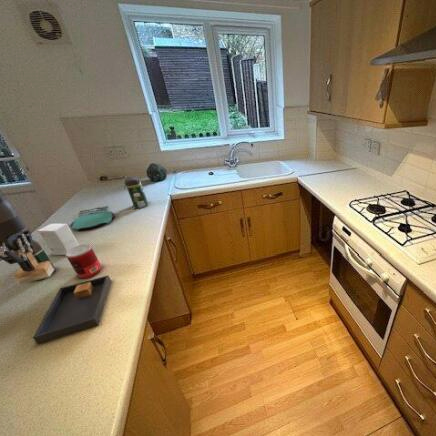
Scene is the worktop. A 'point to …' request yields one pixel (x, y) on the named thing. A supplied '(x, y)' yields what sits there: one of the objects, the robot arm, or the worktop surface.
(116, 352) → the worktop surface
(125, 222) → the worktop surface
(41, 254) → the beer bottle
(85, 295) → the orange brown wooden block
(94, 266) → the canned food
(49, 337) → the tray
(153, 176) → the squash
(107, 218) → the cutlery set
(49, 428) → the worktop surface
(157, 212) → the worktop surface
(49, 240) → the small box
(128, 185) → the coffee jar
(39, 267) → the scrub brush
